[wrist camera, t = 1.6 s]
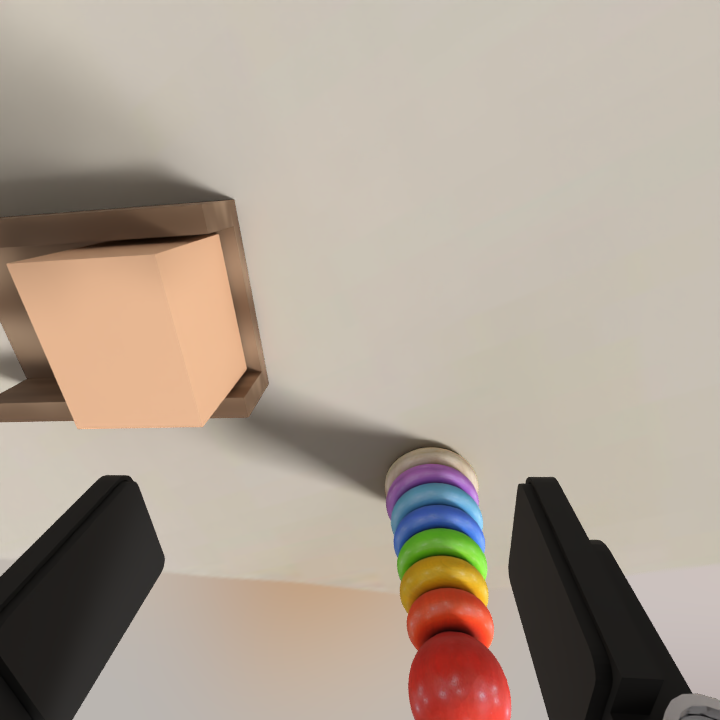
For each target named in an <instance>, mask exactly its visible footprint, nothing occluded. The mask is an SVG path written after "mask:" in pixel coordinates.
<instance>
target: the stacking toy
mask: <svg viewBox="0 0 720 720" xmlns="http://www.w3.org/2000/svg"><path fill="white" fill-rule="evenodd" d="M478 488H479V485H478V479H477V476H476V473H475V471H474V469H473V468H472V466H471V465H470V464H469V463H468V462H467V461H466V460H465V459H464V458H463V457H461V456H460V455H458V454H457V453H454V452H452V451H450V450H447V449H442V448H435V447H429V448H420V449H416V450H413V451H411V452H408V453H406V454H405V455H403V456H401V457H400V458H399V459H397V460H396V461H395V462H394V463H393V465H392V466H391V467H390V469H389V471H388V473H387V476H386V480H385V494H386V508H387V513H388V516H389V518H390V520H391V527H392V531H393V534H394V549H395V553H396V555H397V557H398V560H397V569H398V574H399V577H400V580H401V584H400V597H401V602H402V604H403V606H404V608H405V610H406V611H407V613H408V617H407V631H408V635H409V638H410V640H411V642H412V644H413V645H414V646H415V648H416V649H417V650H418V652H417V654H416V655H415V658H414V660H413V662H412V665H411V669H410V674H409V683H408V689H409V700H410V705H411V710H412V713H413V716H414V719H415V720H510V718H511V697H510V691H509V687H508V684H507V679H506V677H505V675H504V673H503V670H502V668H501V666H500V664H499V662H498V661H497V659H496V658H495V656H494V655H493V654H492V653H491V651H489V649H488V648H489V646H490V644H491V642H492V639H493V634H494V625H493V620H492V617H491V615H490V612H489V610H488V609H487V604H488V588H487V585H486V582H485V579H486V575H487V562H486V558H485V555H484V550H485V539H484V535H483V532H482V529H483V519H482V515H481V511H480V509H479V500H478Z"/></svg>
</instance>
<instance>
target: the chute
mask: <svg viewBox="0 0 720 720" xmlns="http://www.w3.org/2000/svg"><path fill="white" fill-rule="evenodd" d="M209 234H219V238H220V242H221V247H222V252H223V257H224V262H225V266H226V271H227V276H228V281H229V285H230V290H231V295H232V300H233V305H234V309H235V314H236V319H237V324H238V328H239V333H240V338H241V343H242V348H243V352H244V357H245V362H246V367H247V370H246V371H245V372H244V374H243V375H242V376H241V378H240V379H239V380H238V382H237V383H236V384H235V386H234V387H233V388H232V389H231V391H230V392H229V393H228V395H227V396H226V397H225V399H224V400H223V401H222V402H221V404H220V405H219V406H218V408H217V409H216V410H215V412H214V413H213V414H212V415H211V417H210V418H244V417H249V416H250V414H251V412H252V411H253V409H254V407H255V406H256V404H257V403H258V401H259V399H260V398H261V396H262V394H263V393H264V391H265V389H266V388H267V386H268V384H269V382H268V377H267V372H266V366H265V361H264V356H263V350H262V345H261V340H260V334H259V329H258V324H257V318H256V313H255V308H254V302H253V297H252V292H251V286H250V281H249V276H248V270H247V265H246V259H245V254H244V249H243V243H242V238H241V233H240V227H239V222H238V217H237V211H236V206H235V201H234V200H221V201H208V202H194V203H181V204H168V205H155V206H142V207H129V208H116V209H103V210H90V211H76V212H63V213H50V214H37V215H24V216H11V217H0V322H1V324H2V326H3V328H4V331H5V333H6V335H7V337H8V339H9V341H10V343H11V346H12V348H13V350H14V352H15V354H16V356H17V358H18V361H19V363H20V365H21V367H22V369H23V371H24V373H25V376H26V378H27V379H26V380H24V381H23V382H21V383H19V384H17V385H15V386H14V387H12V388H10V389H8V390H6V391H4V392H3V393H1V394H0V422H35V421H74V420H73V417H72V415H71V413H70V410H69V408H68V406H67V403H66V401H65V399H64V396H63V394H62V392H61V390H60V387H59V385H58V383H57V380H56V378H55V376H54V373H53V371H52V369H51V366H50V364H49V362H48V360H47V357H46V355H45V353H44V350H43V348H42V346H41V343H40V341H39V339H38V336H37V334H36V332H35V330H34V327H33V325H32V323H31V320H30V318H29V316H28V313H27V311H26V309H25V306H24V304H23V302H22V300H21V297H20V295H19V293H18V290H17V288H16V286H15V283H14V281H13V279H12V276H11V274H10V272H9V270H8V267H7V265H6V264H7V263H12V262H16V261H21V260H25V259H30V258H34V257H39V256H43V255H48V254H52V253H57V252H61V251H66V250H70V249H75V248H79V247H84V246H88V245H93V244H97V243H102V242H106V241H121V240H135V239H150V238H165V237H180V236H195V235H209Z"/></svg>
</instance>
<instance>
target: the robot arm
mask: <svg viewBox="0 0 720 720" xmlns="http://www.w3.org/2000/svg"><path fill="white" fill-rule="evenodd" d="M164 562H165V558H164V554H163V551H162V548H161V546H160V543H159V540H158V538H157V535H156V532H155V529H154V527H153V524H152V521H151V519H150V516H149V513H148V510H147V508H146V505H145V502H144V500H143V497H142V494H141V491H140V489H139V486H138V484H137V483H136V482H134V481H133V480H132V478H131V477H130V476H126V475H105V476H102V477H101V478H99V479H98V480H97V481H96V482H95V483H94V484H93V485H92V486H91V487H90V488H89V489H88V490H87V491H86V492H85V493H84V494H83V495H82V496H81V497H80V498H79V499H78V500H77V501H76V502H75V503H74V504H73V505H72V506H71V507H70V508H69V509H68V510H67V511H66V512H65V513H64V514H63V515H62V516H61V517H60V518H59V519H58V520H57V521H56V522H55V523H54V524H53V525H52V526H51V527H50V528H49V529H48V530H47V531H46V532H45V533H44V534H43V535H42V536H41V537H40V538H39V539H38V540H37V541H36V542H35V543H34V544H33V545H32V546H31V547H30V548H29V549H28V550H27V551H26V552H25V553H24V554H23V555H22V556H21V557H20V558H19V559H18V560H17V561H16V562H15V563H14V564H13V565H12V566H11V567H10V568H9V569H8V570H7V571H6V572H5V573H4V574H3V575H2V576H1V577H0V720H72V719H73V718H74V716H75V714H76V713H77V711H78V709H79V708H80V706H81V704H82V703H83V701H84V699H85V698H86V696H87V694H88V693H89V691H90V690H91V688H92V686H93V684H94V683H95V681H96V680H97V678H98V676H99V675H100V673H101V671H102V670H103V668H104V666H105V664H106V663H107V661H108V660H109V658H110V656H111V655H112V653H113V651H114V650H115V648H116V647H117V645H118V643H119V641H120V640H121V638H122V637H123V635H124V633H125V632H126V630H127V628H128V627H129V625H130V623H131V622H132V620H133V618H134V617H135V615H136V613H137V611H138V610H139V608H140V607H141V605H142V603H143V602H144V600H145V598H146V597H147V595H148V594H149V592H150V590H151V589H152V587H153V585H154V584H155V582H156V580H157V579H158V577H159V575H160V574H161V572H162V570H163V567H164ZM508 569H509V578H510V583H511V587H512V590H513V594H514V597H515V601H516V604H517V607H518V611H519V615H520V618H521V622H522V625H523V629H524V633H525V636H526V639H527V643H528V647H529V650H530V654H531V657H532V661H533V664H534V668H535V671H536V675H537V678H538V682H539V685H540V688H541V693H542V696H543V699H544V703H545V706H546V710H547V714H548V717H549V720H720V700H718V699H716V698H712V697H708V696H705V695H701V694H693V693H692V692H691V690H690V688H689V687H688V685H687V683H686V681H685V680H684V678H683V676H682V675H681V673H680V671H679V669H678V668H677V666H676V664H675V662H674V661H673V659H672V657H671V655H670V654H669V652H668V650H667V649H666V647H665V645H664V643H663V642H662V640H661V638H660V637H659V635H658V633H657V631H656V630H655V628H654V626H653V624H652V623H651V621H650V619H649V617H648V616H647V614H646V612H645V611H644V609H643V607H642V605H641V604H640V602H639V600H638V599H637V597H636V595H635V593H634V591H633V590H632V588H631V586H630V585H629V583H628V581H627V579H626V578H625V576H624V574H623V572H622V571H621V569H620V567H619V565H618V564H617V562H616V560H615V559H614V557H613V555H612V553H611V552H610V550H609V549H608V547H607V546H606V545H605V544H604V543H603V542H602V541H600V540H589V538H588V537H587V535H586V533H585V531H584V529H583V527H582V525H581V524H580V522H579V520H578V518H577V516H576V514H575V512H574V511H573V509H572V507H571V505H570V503H569V501H568V499H567V497H566V496H565V494H564V492H563V490H562V488H561V486H560V484H559V483H558V481H557V480H556V478H554V477H528V478H527V480H526V484H519V485H518V489H517V497H516V506H515V514H514V523H513V531H512V540H511V548H510V556H509V566H508Z"/></svg>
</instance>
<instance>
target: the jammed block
mask: <svg viewBox="0 0 720 720" xmlns="http://www.w3.org/2000/svg"><path fill="white" fill-rule="evenodd" d="M6 265H7V267H8V270H9V272H10V274H11V276H12V279H13V281H14V283H15V286H16V288H17V290H18V293H19V295H20V297H21V300H22V302H23V304H24V306H25V309H26V311H27V313H28V316H29V318H30V320H31V323H32V325H33V327H34V330H35V332H36V334H37V336H38V339H39V341H40V343H41V346H42V348H43V350H44V353H45V355H46V357H47V360H48V362H49V364H50V366H51V369H52V371H53V373H54V376H55V378H56V380H57V383H58V385H59V387H60V390H61V392H62V394H63V396H64V399H65V401H66V403H67V406H68V408H69V410H70V413H71V415H72V417H73V420H74V422H75V424H76V426H77V429H107V428H166V427H203V426H204V425H205V423H206V422H207V421H208V419H209V418H210V417H211V415H212V414H213V413H214V412H215V410H216V409H217V408H218V406H219V405H220V404H221V402H222V401H223V400H224V399H225V397H226V396H227V395H228V393H229V392H230V391H231V389H232V388H233V387H234V386H235V384H236V383H237V382H238V380H239V379H240V378H241V376H242V375H243V374H244V372H245V371H246V370H247V367H246V362H245V357H244V352H243V348H242V343H241V338H240V333H239V328H238V324H237V319H236V314H235V309H234V305H233V300H232V295H231V290H230V285H229V281H228V276H227V271H226V266H225V262H224V257H223V252H222V247H221V242H220V238H219V234H209V235H195V236H180V237H165V238H150V239H135V240H121V241H106V242H102V243H97V244H93V245H88V246H84V247H79V248H75V249H70V250H66V251H61V252H57V253H52V254H48V255H43V256H39V257H34V258H30V259H25V260H21V261H16V262H12V263H7V264H6Z"/></svg>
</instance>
